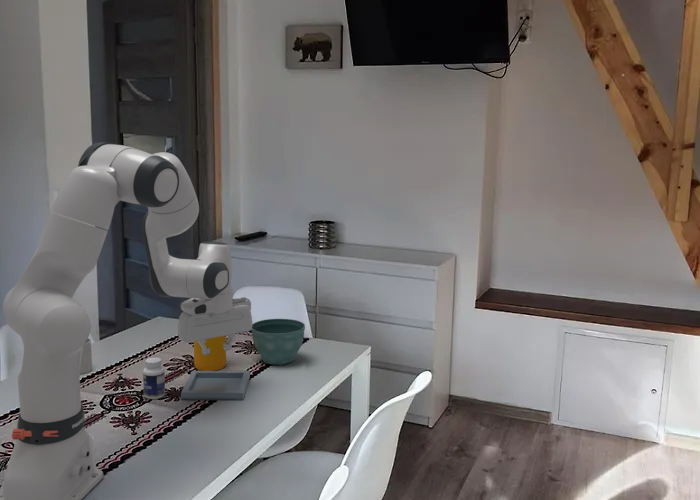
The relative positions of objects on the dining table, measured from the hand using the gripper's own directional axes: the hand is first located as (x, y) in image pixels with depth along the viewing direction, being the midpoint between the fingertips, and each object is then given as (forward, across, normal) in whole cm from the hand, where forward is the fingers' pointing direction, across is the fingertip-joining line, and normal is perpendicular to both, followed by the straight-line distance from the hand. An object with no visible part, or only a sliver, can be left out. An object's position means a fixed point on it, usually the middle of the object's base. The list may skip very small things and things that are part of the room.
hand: (216, 352), depth 190 cm
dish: (+10, 0, 0) cm, 10 cm away
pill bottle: (+10, +16, -5) cm, 19 cm away
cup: (+10, +28, -35) cm, 46 cm away
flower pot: (+11, -25, -10) cm, 29 cm away
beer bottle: (+10, -6, -17) cm, 21 cm away
